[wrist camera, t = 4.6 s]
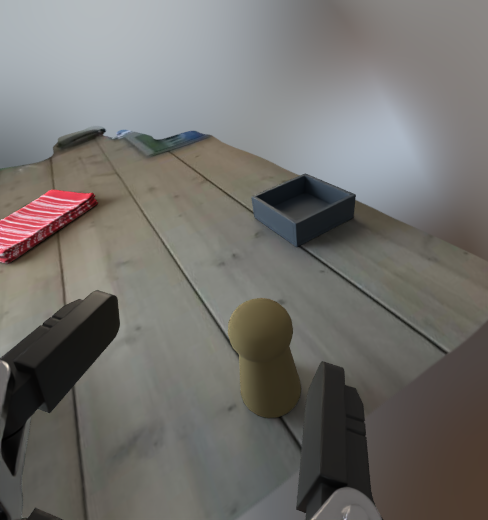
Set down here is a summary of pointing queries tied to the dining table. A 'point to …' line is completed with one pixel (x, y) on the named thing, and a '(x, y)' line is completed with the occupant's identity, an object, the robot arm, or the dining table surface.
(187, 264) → the dining table surface
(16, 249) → the dish towel
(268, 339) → the cork
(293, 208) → the square tray
